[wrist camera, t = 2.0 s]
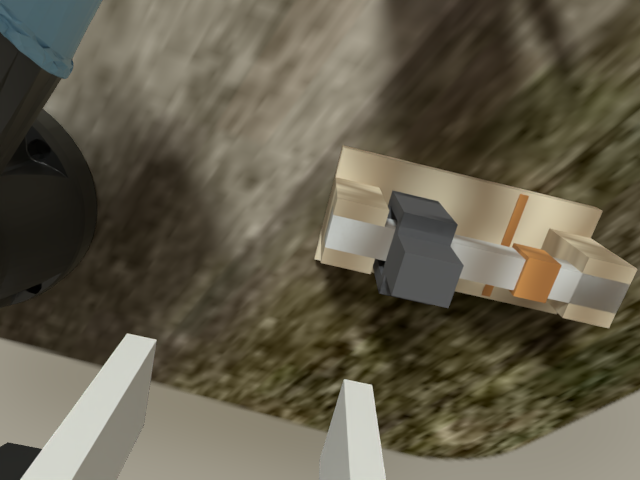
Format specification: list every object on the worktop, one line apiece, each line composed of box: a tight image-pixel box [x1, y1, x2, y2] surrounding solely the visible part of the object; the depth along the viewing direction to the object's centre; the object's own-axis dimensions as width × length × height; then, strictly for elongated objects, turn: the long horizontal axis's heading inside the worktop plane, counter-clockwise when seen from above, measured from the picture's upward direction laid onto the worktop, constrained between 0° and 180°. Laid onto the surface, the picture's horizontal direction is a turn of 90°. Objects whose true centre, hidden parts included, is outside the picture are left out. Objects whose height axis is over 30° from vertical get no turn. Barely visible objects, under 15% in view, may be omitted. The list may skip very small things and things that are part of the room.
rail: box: [315, 145, 637, 328], centre depth 32 cm, size 18×8×7 cm, turn 76°
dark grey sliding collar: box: [373, 190, 464, 308], centre depth 29 cm, size 3×5×8 cm, turn 166°
